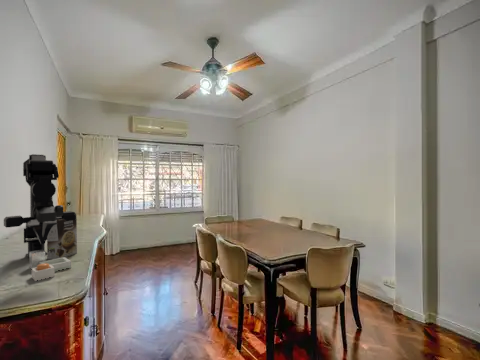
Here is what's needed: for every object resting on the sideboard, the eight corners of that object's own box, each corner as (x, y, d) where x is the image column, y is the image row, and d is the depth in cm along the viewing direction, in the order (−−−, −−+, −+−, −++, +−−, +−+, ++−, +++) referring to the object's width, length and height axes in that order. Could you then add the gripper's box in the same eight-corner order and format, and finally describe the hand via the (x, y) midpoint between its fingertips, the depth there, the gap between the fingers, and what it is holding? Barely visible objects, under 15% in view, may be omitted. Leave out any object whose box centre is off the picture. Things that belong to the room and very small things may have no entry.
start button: (36, 271, 87) (35, 265, 87) (47, 268, 89) (47, 262, 89) (38, 273, 85) (38, 267, 85) (50, 270, 87) (50, 264, 87)
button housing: (31, 277, 87) (31, 268, 87) (50, 272, 91) (50, 264, 91) (35, 281, 83) (35, 271, 83) (54, 276, 87) (54, 267, 87)
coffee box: (59, 259, 106) (59, 220, 106) (46, 258, 108) (45, 219, 107) (77, 253, 115) (77, 216, 115) (65, 252, 116) (64, 216, 116)
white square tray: (39, 268, 95) (39, 262, 95) (64, 263, 101) (64, 256, 101) (44, 273, 90) (44, 266, 90) (71, 267, 96) (71, 261, 96)
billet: (29, 267, 97) (29, 251, 97) (42, 265, 100) (42, 249, 100) (31, 270, 94) (31, 253, 94) (45, 267, 97) (45, 251, 97)
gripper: (8, 200, 75) (9, 255, 75) (81, 196, 89) (82, 242, 89) (3, 199, 82) (3, 248, 82) (71, 195, 96) (71, 238, 96)
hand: (42, 244), depth 87 cm, fingers closed
